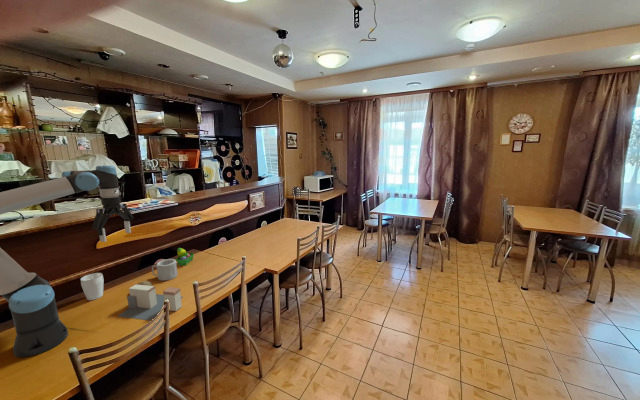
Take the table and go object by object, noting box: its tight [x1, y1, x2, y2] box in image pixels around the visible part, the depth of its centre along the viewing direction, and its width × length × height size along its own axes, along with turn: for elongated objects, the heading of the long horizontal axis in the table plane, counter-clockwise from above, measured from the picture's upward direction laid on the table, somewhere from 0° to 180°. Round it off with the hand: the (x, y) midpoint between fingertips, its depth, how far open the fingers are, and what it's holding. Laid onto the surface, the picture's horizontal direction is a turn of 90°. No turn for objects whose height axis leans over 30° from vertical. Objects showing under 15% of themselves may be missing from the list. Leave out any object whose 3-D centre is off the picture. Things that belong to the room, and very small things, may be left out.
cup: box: [80, 272, 105, 301], centre depth 135 cm, size 9×9×12 cm
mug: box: [151, 258, 178, 282], centre depth 157 cm, size 14×11×10 cm
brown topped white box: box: [162, 286, 183, 312], centre depth 125 cm, size 4×6×10 cm
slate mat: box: [116, 293, 184, 322], centre depth 128 cm, size 20×20×1 cm
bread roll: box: [137, 280, 153, 286], centre depth 141 cm, size 10×10×8 cm
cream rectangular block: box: [126, 283, 157, 309], centre depth 127 cm, size 6×12×10 cm, turn 81°
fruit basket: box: [175, 247, 195, 266], centre depth 178 cm, size 11×9×11 cm
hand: (116, 236), depth 129 cm, fingers open, 13 cm apart
